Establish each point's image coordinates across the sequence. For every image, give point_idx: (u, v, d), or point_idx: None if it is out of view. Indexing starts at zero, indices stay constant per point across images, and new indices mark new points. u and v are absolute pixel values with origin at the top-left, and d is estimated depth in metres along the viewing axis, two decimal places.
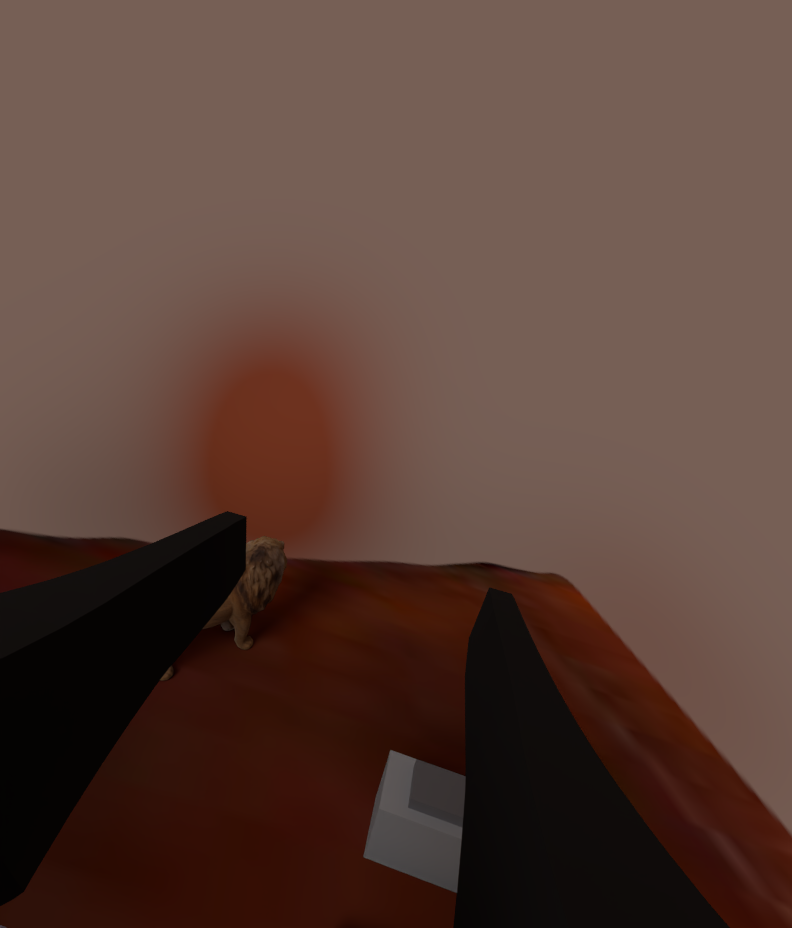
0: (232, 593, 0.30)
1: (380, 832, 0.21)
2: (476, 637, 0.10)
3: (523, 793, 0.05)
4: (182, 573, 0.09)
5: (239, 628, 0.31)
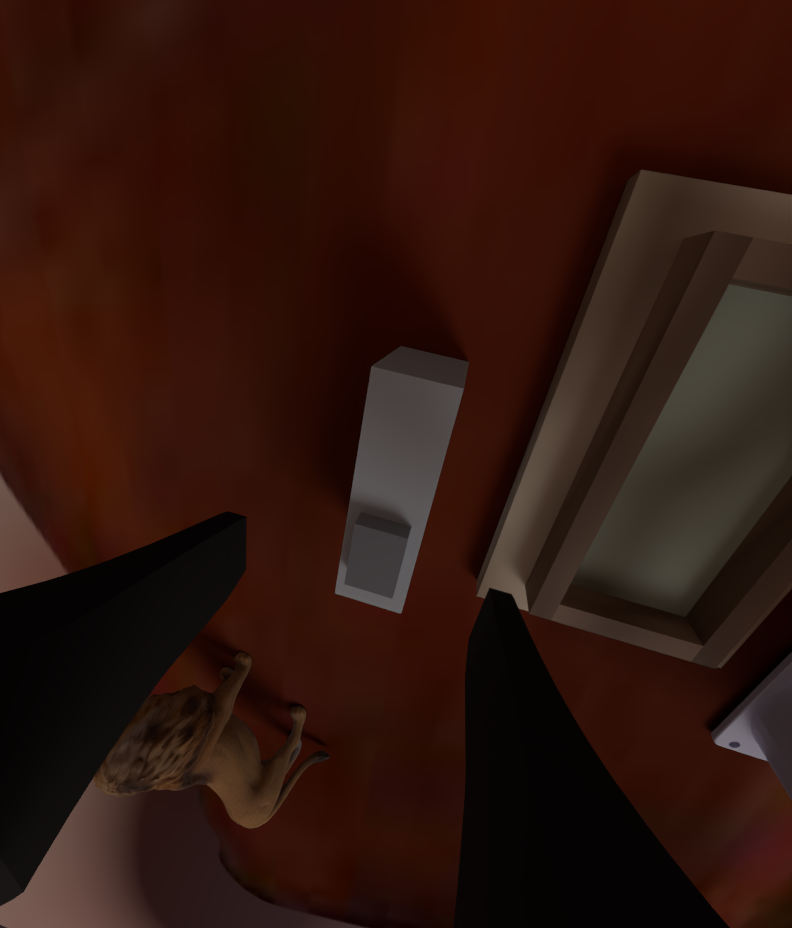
0: (202, 760, 0.23)
1: None
2: (476, 637, 0.10)
3: (523, 793, 0.05)
4: (182, 573, 0.09)
5: (234, 696, 0.26)
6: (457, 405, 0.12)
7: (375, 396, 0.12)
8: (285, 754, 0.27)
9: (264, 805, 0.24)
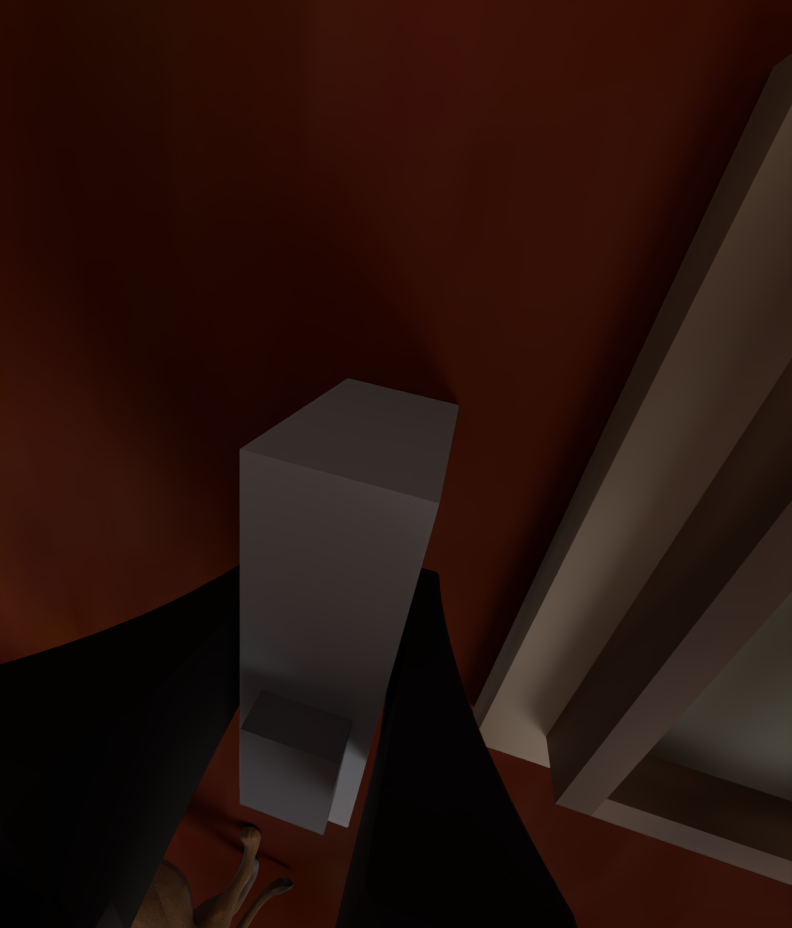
0: None
1: None
2: None
3: (386, 747, 0.06)
4: None
5: None
6: (427, 534, 0.06)
7: (257, 507, 0.06)
8: (228, 903, 0.20)
9: None
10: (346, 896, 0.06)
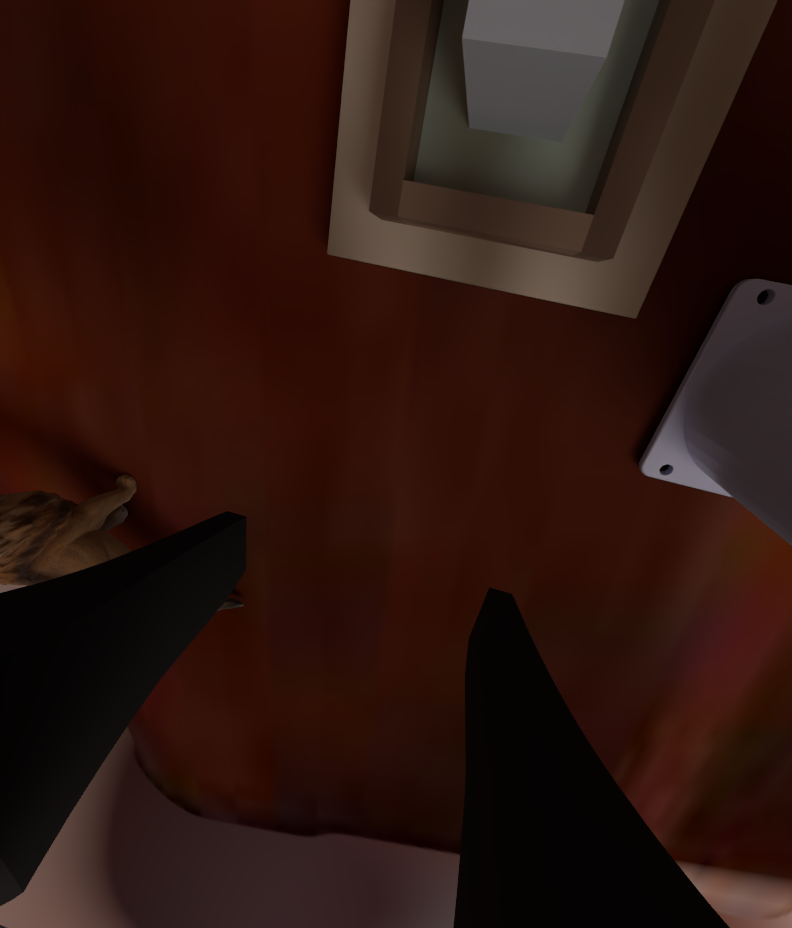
0: (48, 557, 0.19)
1: None
2: (476, 637, 0.10)
3: (523, 793, 0.05)
4: (182, 573, 0.09)
5: (104, 508, 0.22)
6: None
7: None
8: None
9: None
10: None
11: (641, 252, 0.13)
